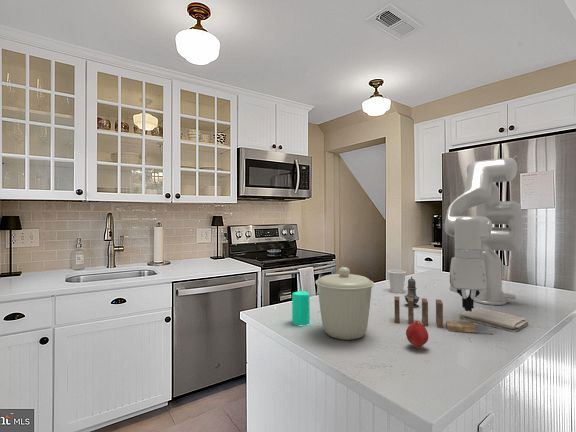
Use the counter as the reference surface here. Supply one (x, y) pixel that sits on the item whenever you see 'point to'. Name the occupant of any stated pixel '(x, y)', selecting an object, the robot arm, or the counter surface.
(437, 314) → the domino
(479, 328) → the pad
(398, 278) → the dixie cup
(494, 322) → the washcloth
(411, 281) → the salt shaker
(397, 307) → the domino
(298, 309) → the candle
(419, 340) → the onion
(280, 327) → the counter surface
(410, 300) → the domino
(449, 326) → the domino
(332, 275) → the canister
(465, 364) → the counter surface
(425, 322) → the domino
